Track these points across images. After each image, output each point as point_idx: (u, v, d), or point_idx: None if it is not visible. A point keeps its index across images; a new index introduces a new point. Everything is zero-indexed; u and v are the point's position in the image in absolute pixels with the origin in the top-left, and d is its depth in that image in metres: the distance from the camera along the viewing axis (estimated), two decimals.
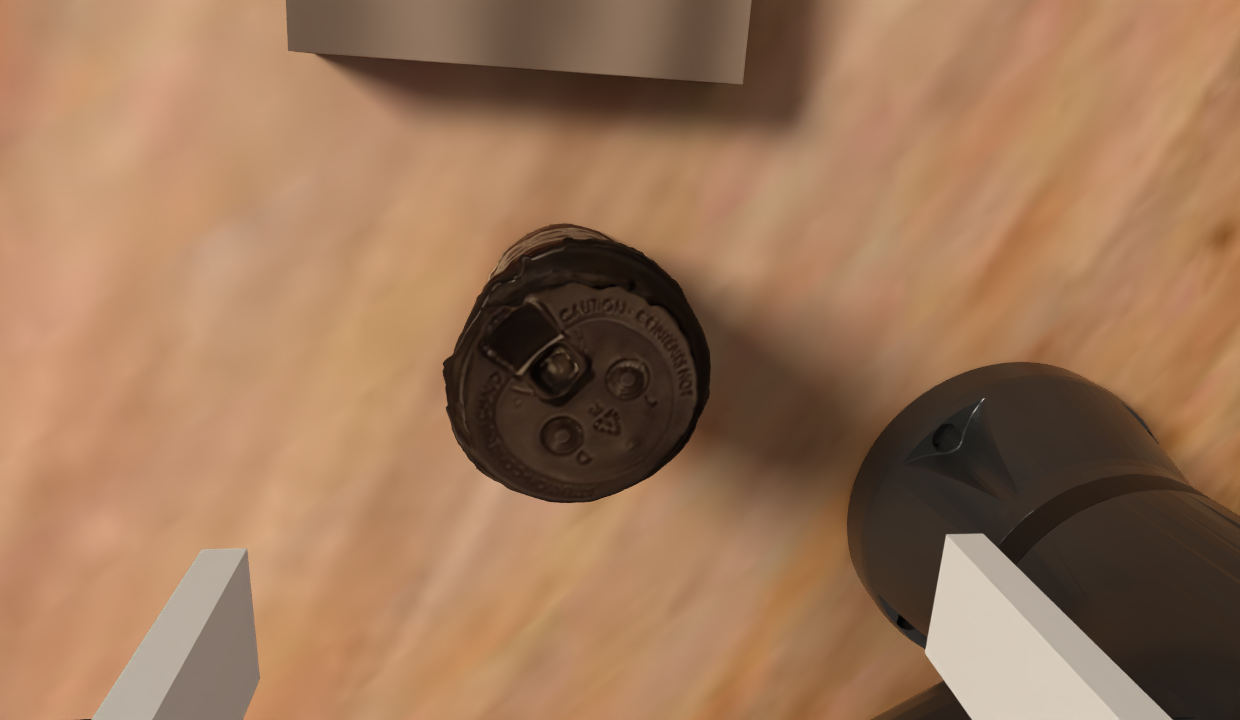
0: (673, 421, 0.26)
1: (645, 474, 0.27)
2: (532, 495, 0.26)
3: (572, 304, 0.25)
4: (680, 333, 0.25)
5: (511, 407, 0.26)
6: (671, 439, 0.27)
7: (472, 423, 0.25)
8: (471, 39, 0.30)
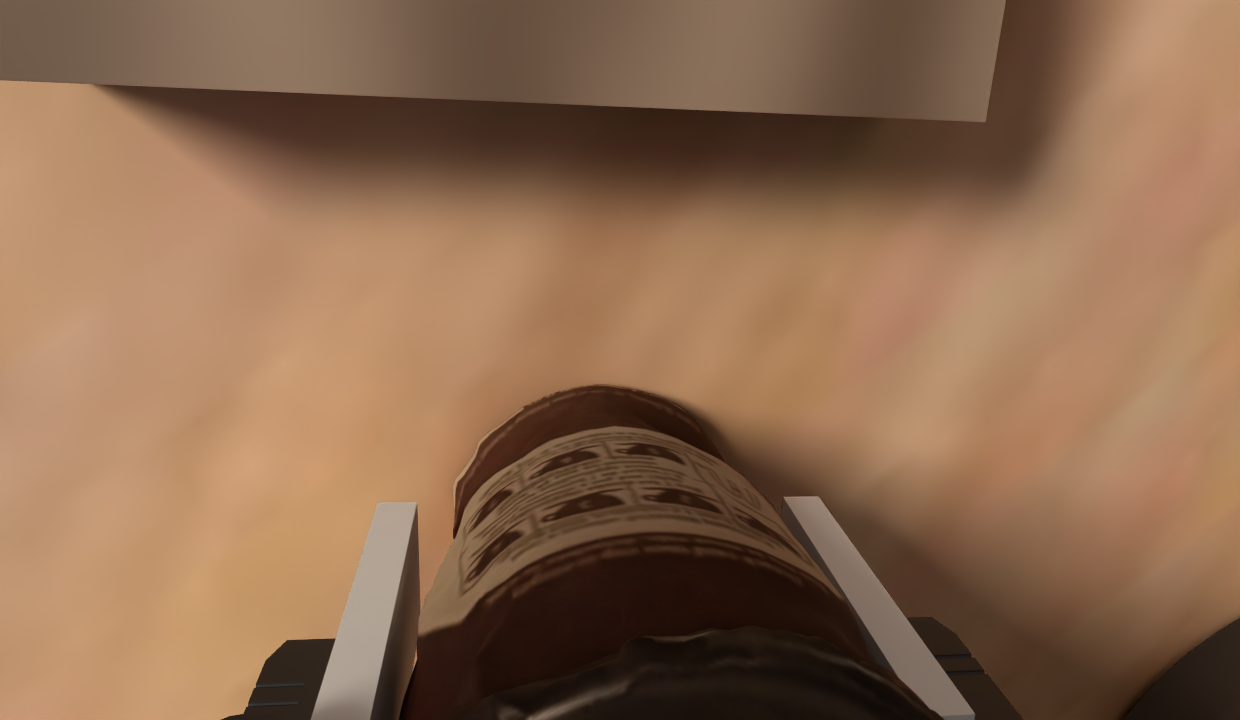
0: None
1: None
2: None
3: None
4: None
5: None
6: None
7: None
8: (383, 40, 0.13)
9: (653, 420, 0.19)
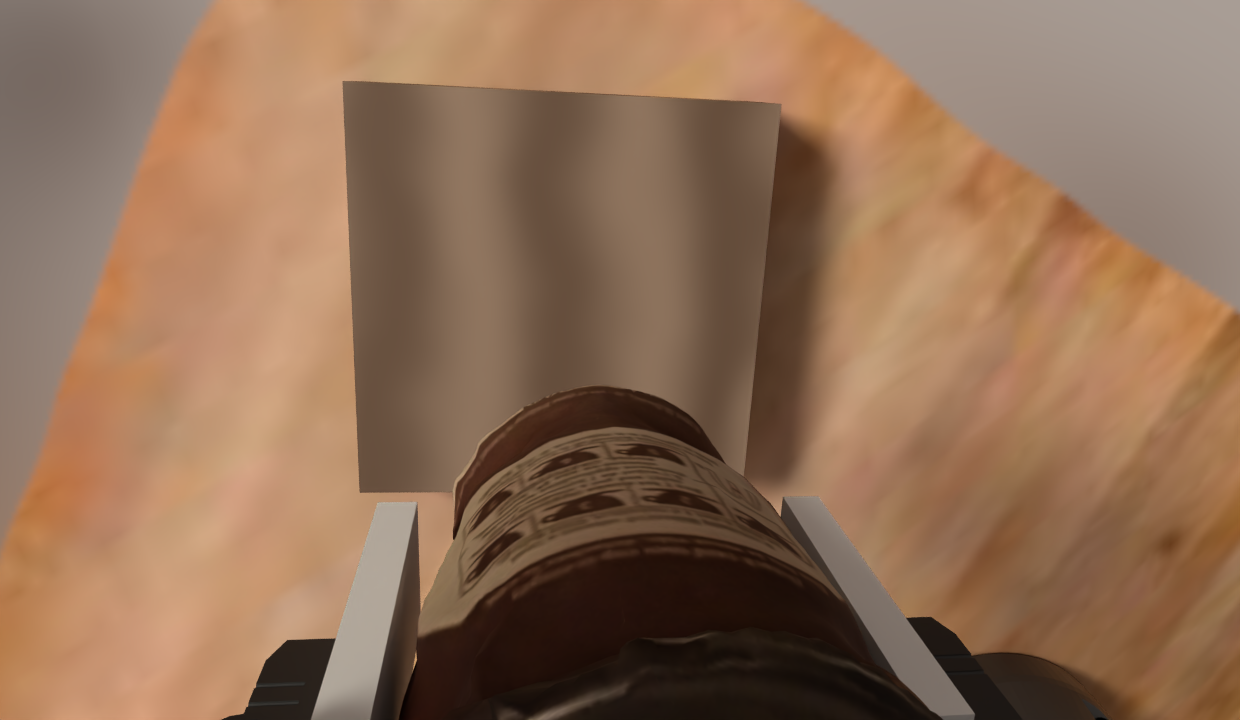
0: None
1: None
2: None
3: None
4: None
5: None
6: None
7: None
8: None
9: (653, 421, 0.19)
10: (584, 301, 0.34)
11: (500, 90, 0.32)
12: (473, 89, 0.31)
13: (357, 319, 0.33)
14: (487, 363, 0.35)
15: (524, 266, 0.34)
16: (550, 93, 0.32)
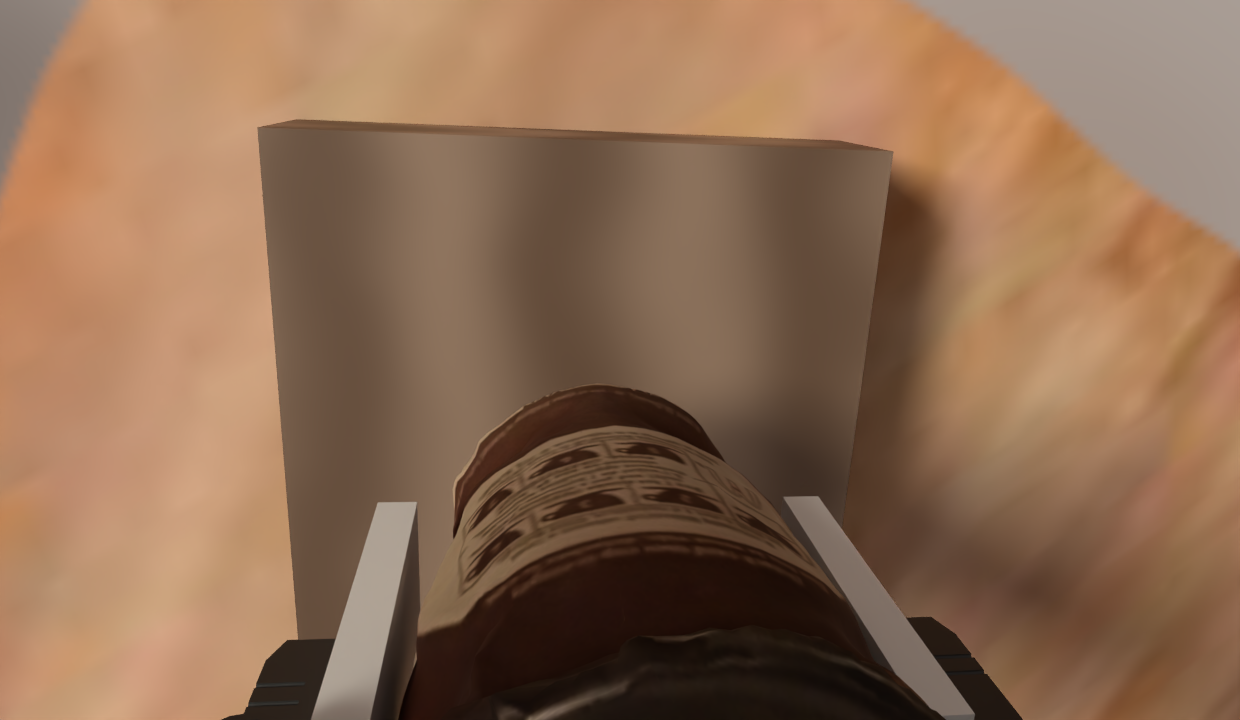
0: None
1: None
2: None
3: None
4: None
5: None
6: None
7: None
8: None
9: (653, 419, 0.19)
10: None
11: (490, 137, 0.22)
12: (451, 137, 0.22)
13: (291, 459, 0.24)
14: None
15: (527, 382, 0.24)
16: (563, 141, 0.22)
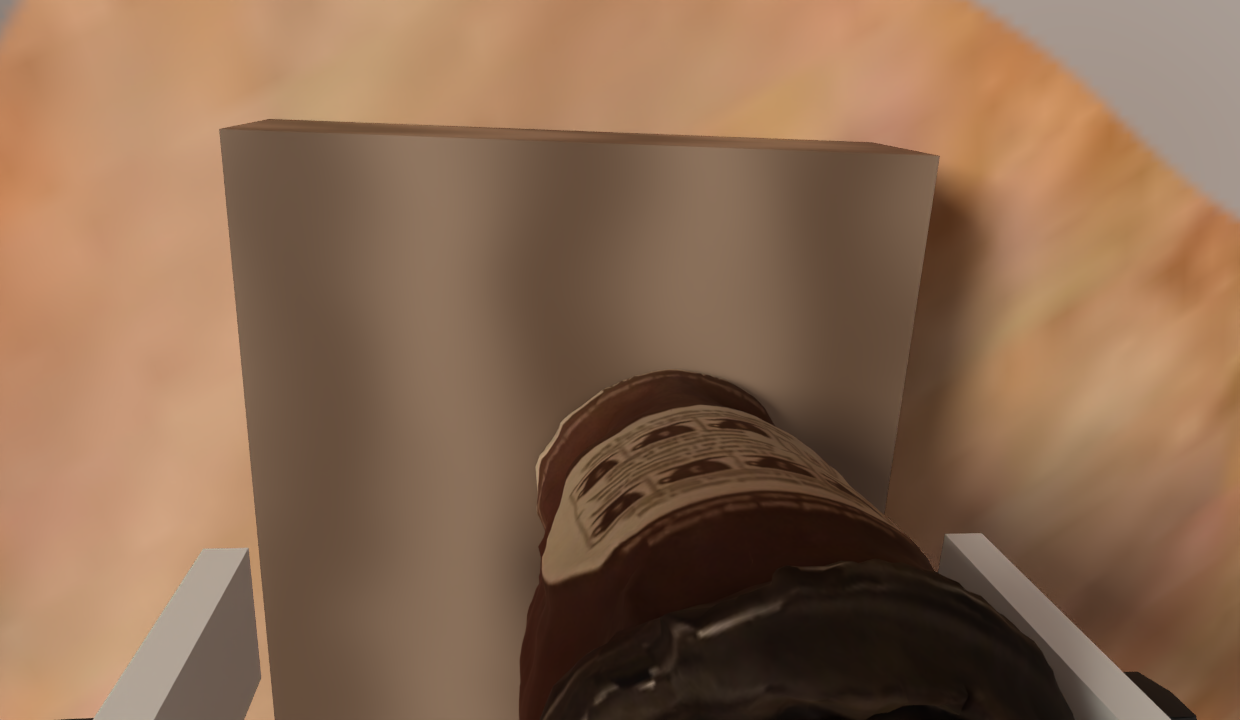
0: None
1: None
2: None
3: None
4: None
5: None
6: None
7: None
8: (511, 712, 0.24)
9: (724, 401, 0.20)
10: None
11: (485, 140, 0.19)
12: (440, 139, 0.19)
13: (262, 501, 0.21)
14: (470, 559, 0.22)
15: (527, 414, 0.21)
16: (568, 144, 0.19)
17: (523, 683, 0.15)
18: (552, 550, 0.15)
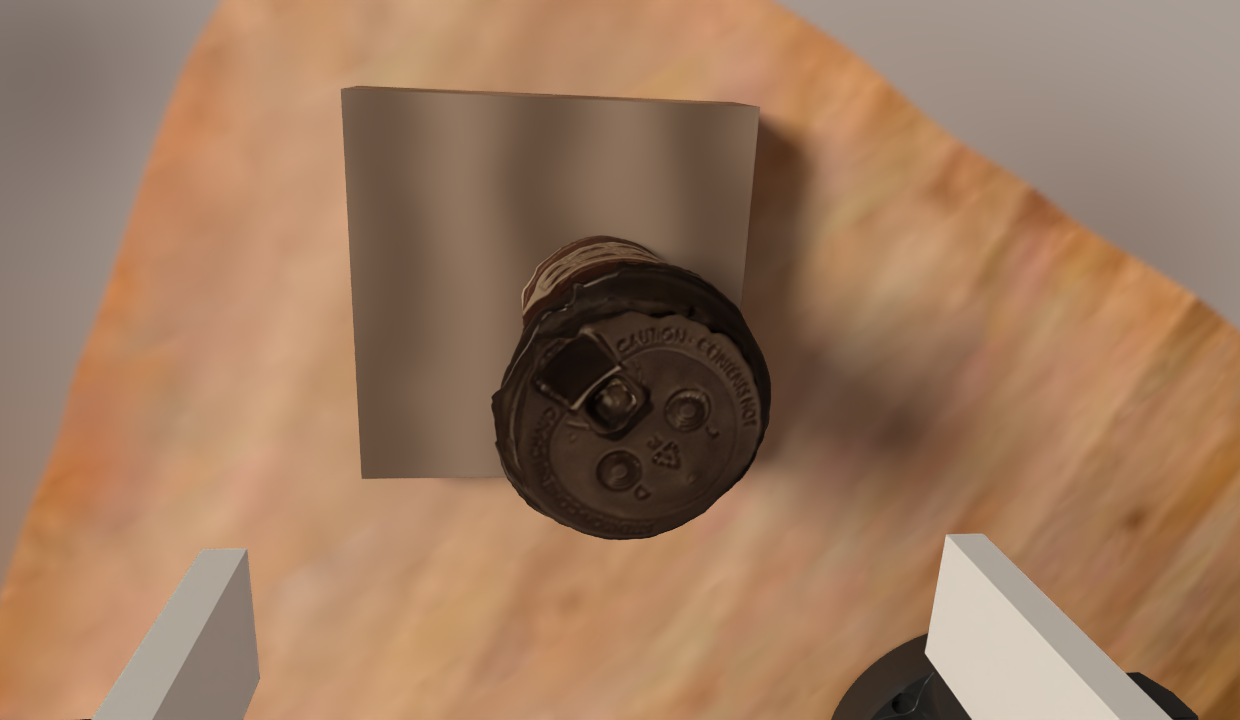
0: (735, 452, 0.25)
1: (706, 508, 0.25)
2: (588, 533, 0.25)
3: (630, 334, 0.23)
4: (743, 361, 0.24)
5: (566, 442, 0.24)
6: (733, 471, 0.25)
7: (525, 461, 0.24)
8: None
9: None
10: None
11: (491, 96, 0.33)
12: (465, 95, 0.33)
13: (357, 315, 0.35)
14: (481, 355, 0.36)
15: (516, 263, 0.35)
16: (539, 99, 0.33)
17: None
18: (528, 306, 0.30)
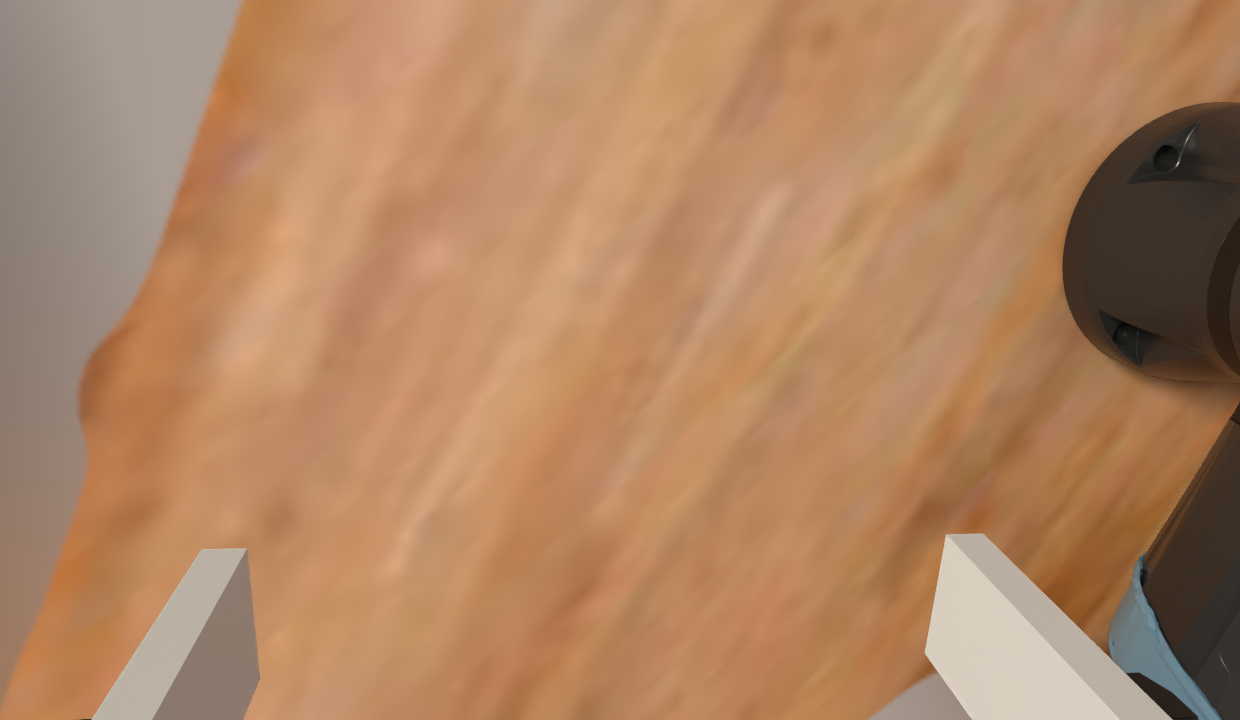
0: None
1: None
2: None
3: None
4: None
5: None
6: None
7: None
8: None
9: None
10: None
11: None
12: None
13: None
14: None
15: None
16: None
17: None
18: None
